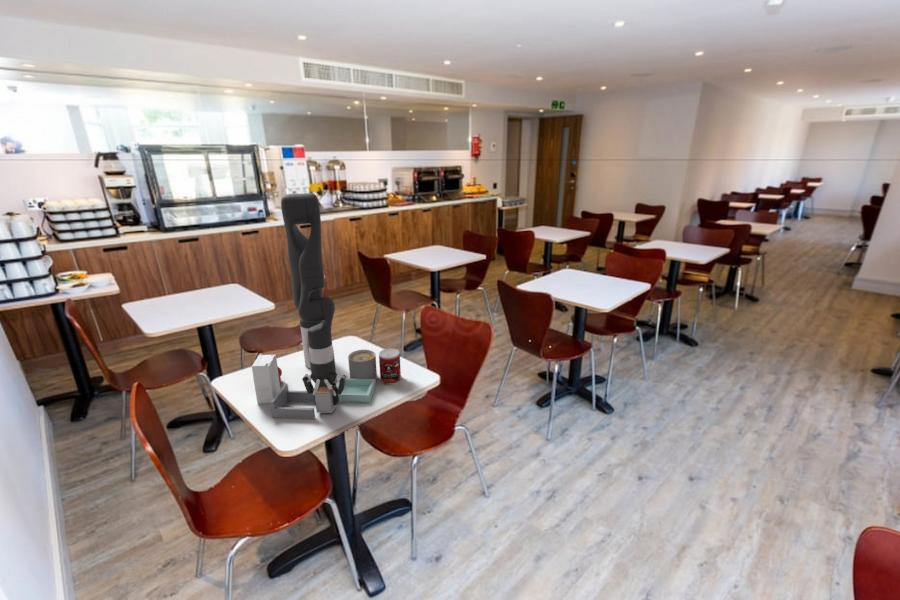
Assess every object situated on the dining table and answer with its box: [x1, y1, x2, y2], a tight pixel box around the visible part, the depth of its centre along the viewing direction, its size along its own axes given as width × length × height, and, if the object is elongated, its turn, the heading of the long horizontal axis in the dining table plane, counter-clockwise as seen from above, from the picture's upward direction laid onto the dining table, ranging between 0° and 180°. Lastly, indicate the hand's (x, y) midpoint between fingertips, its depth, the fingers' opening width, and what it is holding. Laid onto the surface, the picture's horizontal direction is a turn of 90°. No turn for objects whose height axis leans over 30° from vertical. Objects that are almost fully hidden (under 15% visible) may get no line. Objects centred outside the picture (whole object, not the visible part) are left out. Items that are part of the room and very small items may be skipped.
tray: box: [336, 377, 377, 404], centre depth 148 cm, size 11×13×3 cm
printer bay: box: [269, 383, 316, 420], centre depth 139 cm, size 11×14×6 cm
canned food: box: [378, 348, 402, 385], centre depth 157 cm, size 8×8×11 cm
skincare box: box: [251, 354, 281, 405], centre depth 144 cm, size 8×6×15 cm
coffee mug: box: [347, 349, 378, 381], centre depth 158 cm, size 13×10×10 cm
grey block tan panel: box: [315, 387, 338, 414], centre depth 138 cm, size 6×5×8 cm
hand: (326, 403), depth 138 cm, fingers closed on grey block tan panel, 5 cm apart
